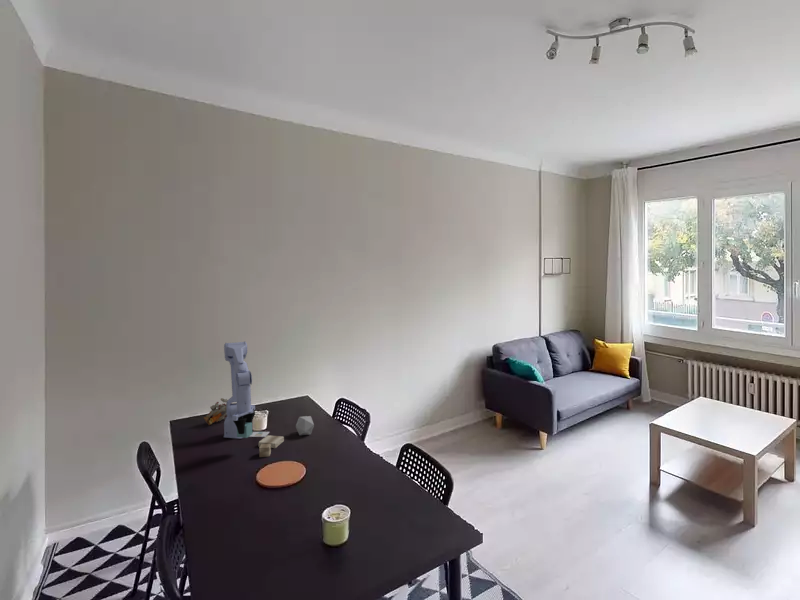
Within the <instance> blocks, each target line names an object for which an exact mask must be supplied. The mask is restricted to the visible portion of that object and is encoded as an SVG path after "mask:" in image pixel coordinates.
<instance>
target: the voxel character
mask: <svg viewBox="0 0 800 600" xmlns="http://www.w3.org/2000/svg"><path fill="white" fill-rule="evenodd" d="M228 400H229V399H227V398H226V399H224V398H220V401H221V402H222V403H221V404H220V403H219V401H216V402H215V403H214V404H213V405H212V406H210V409H211V410H210V411H209V413H208V414H206V416H204V417H203V419H204V422H206V424H208V426H211V425H212V424H213V423H218V421H219V422H221V421H222V420H225V419H226V418H227V412H226V406H227V404H226V403H227V401H228ZM233 403H234V402H233ZM233 403H231V404H233Z"/></svg>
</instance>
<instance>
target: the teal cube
mask: <svg viewBox="0 0 800 600" xmlns="http://www.w3.org/2000/svg"><path fill="white" fill-rule="evenodd" d="M252 433H253V422H252V423H250V422H245V429H244V434H239V433H238V430H237V437H241V438H242V439H244V438H245V439H248V438H250V437H249V436H250V435H252Z"/></svg>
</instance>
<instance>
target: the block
mask: <svg viewBox="0 0 800 600" xmlns="http://www.w3.org/2000/svg"><path fill="white" fill-rule="evenodd" d="M271 452H272V448H271V443H270V444H261V445H260V447H259V453H258V454H259V458H266V457H267V458H268V457H270V456H271V454H272V453H271Z"/></svg>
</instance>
